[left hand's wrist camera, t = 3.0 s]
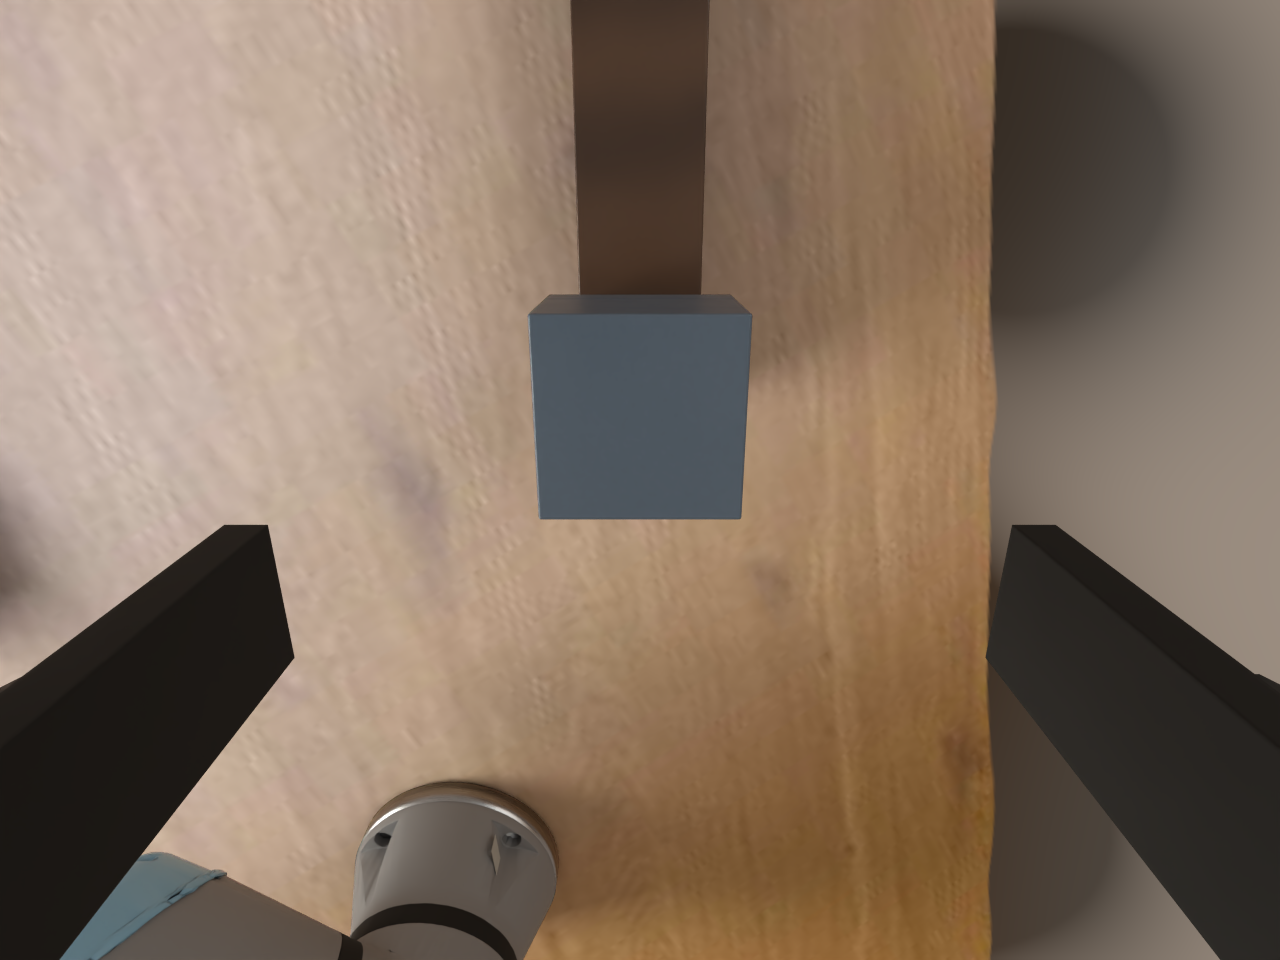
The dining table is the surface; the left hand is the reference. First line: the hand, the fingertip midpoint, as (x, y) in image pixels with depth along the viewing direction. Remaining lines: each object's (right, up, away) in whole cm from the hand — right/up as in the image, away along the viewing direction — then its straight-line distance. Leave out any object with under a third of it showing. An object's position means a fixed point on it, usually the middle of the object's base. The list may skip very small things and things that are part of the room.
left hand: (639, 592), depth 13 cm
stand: (0, +19, +26) cm, 32 cm away
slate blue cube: (0, +6, +16) cm, 17 cm away
